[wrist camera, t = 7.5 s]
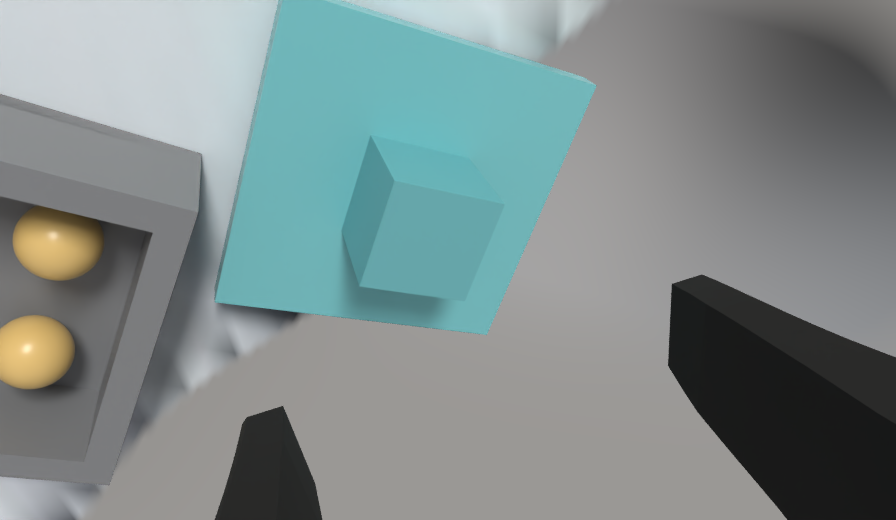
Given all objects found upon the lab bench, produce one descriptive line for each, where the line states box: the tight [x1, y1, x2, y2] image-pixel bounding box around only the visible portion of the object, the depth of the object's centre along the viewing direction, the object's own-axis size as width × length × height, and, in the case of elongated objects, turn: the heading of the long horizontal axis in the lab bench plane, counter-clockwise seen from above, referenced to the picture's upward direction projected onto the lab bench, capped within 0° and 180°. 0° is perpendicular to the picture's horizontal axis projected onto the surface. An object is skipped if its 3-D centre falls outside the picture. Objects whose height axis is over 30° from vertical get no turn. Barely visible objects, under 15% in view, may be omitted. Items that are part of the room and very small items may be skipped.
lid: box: [215, 0, 596, 335], centre depth 19 cm, size 9×9×4 cm
